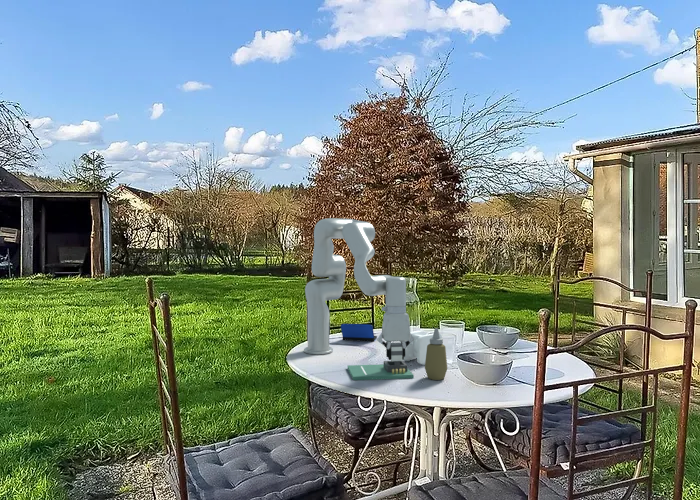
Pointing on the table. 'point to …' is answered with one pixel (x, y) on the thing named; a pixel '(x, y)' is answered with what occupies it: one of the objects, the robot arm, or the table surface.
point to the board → (380, 371)
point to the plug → (396, 351)
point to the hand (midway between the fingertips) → (395, 358)
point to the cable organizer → (418, 346)
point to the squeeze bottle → (436, 358)
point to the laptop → (358, 332)
